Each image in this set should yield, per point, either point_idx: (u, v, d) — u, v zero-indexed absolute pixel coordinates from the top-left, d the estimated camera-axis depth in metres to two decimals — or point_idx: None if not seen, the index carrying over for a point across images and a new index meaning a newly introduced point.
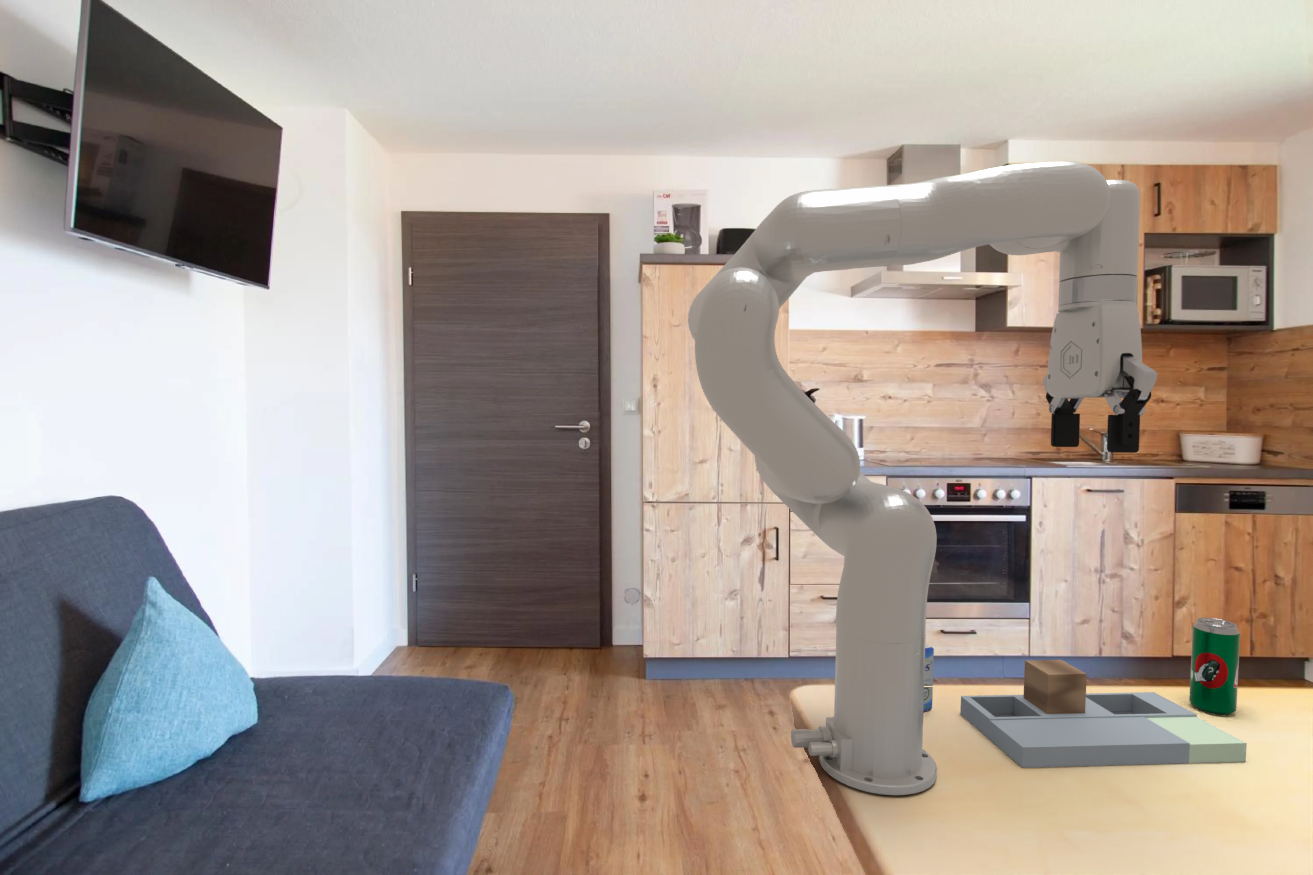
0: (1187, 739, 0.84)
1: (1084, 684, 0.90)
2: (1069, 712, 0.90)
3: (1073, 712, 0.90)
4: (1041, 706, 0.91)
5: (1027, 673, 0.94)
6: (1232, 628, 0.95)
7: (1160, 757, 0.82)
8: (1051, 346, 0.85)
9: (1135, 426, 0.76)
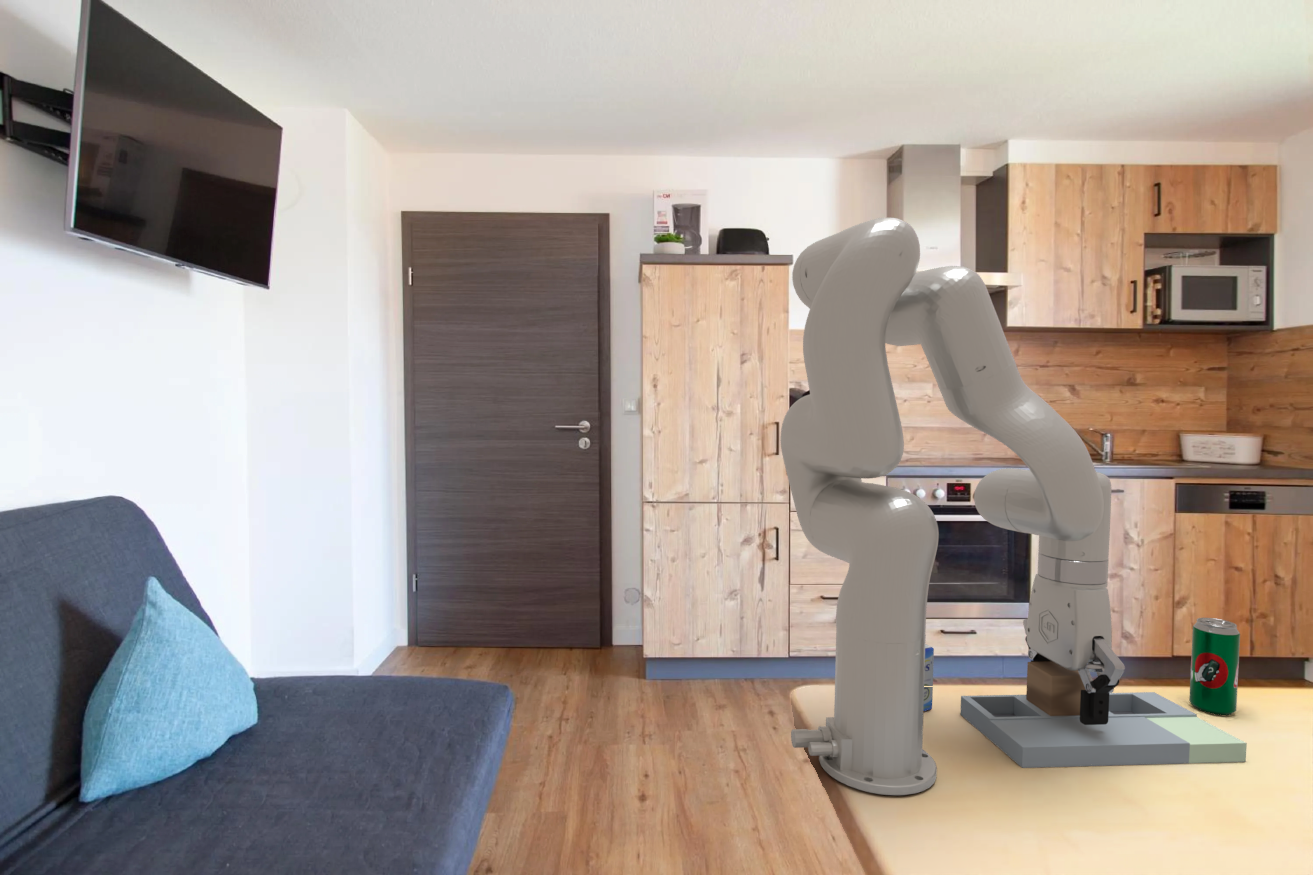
0: (1187, 739, 0.84)
1: None
2: (1072, 714, 0.89)
3: (1076, 714, 0.89)
4: (1044, 708, 0.90)
5: (1030, 674, 0.93)
6: (1232, 628, 0.95)
7: (1160, 757, 0.82)
8: (1031, 603, 0.93)
9: (1105, 703, 0.84)
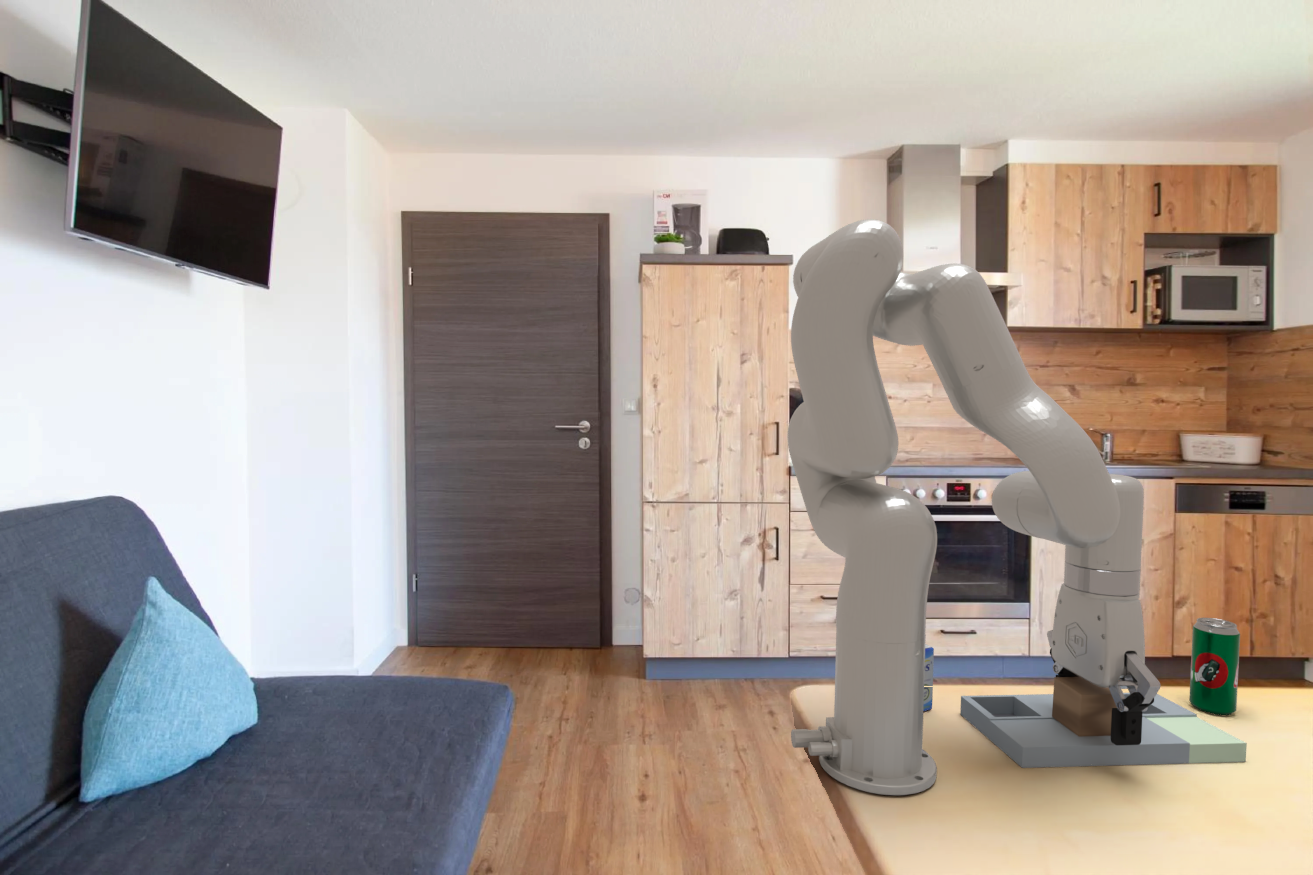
0: (1187, 739, 0.84)
1: None
2: (1102, 734, 0.84)
3: (1107, 734, 0.84)
4: (1072, 727, 0.85)
5: (1056, 691, 0.88)
6: (1232, 628, 0.95)
7: (1160, 757, 0.82)
8: (1056, 614, 0.88)
9: (1138, 722, 0.79)
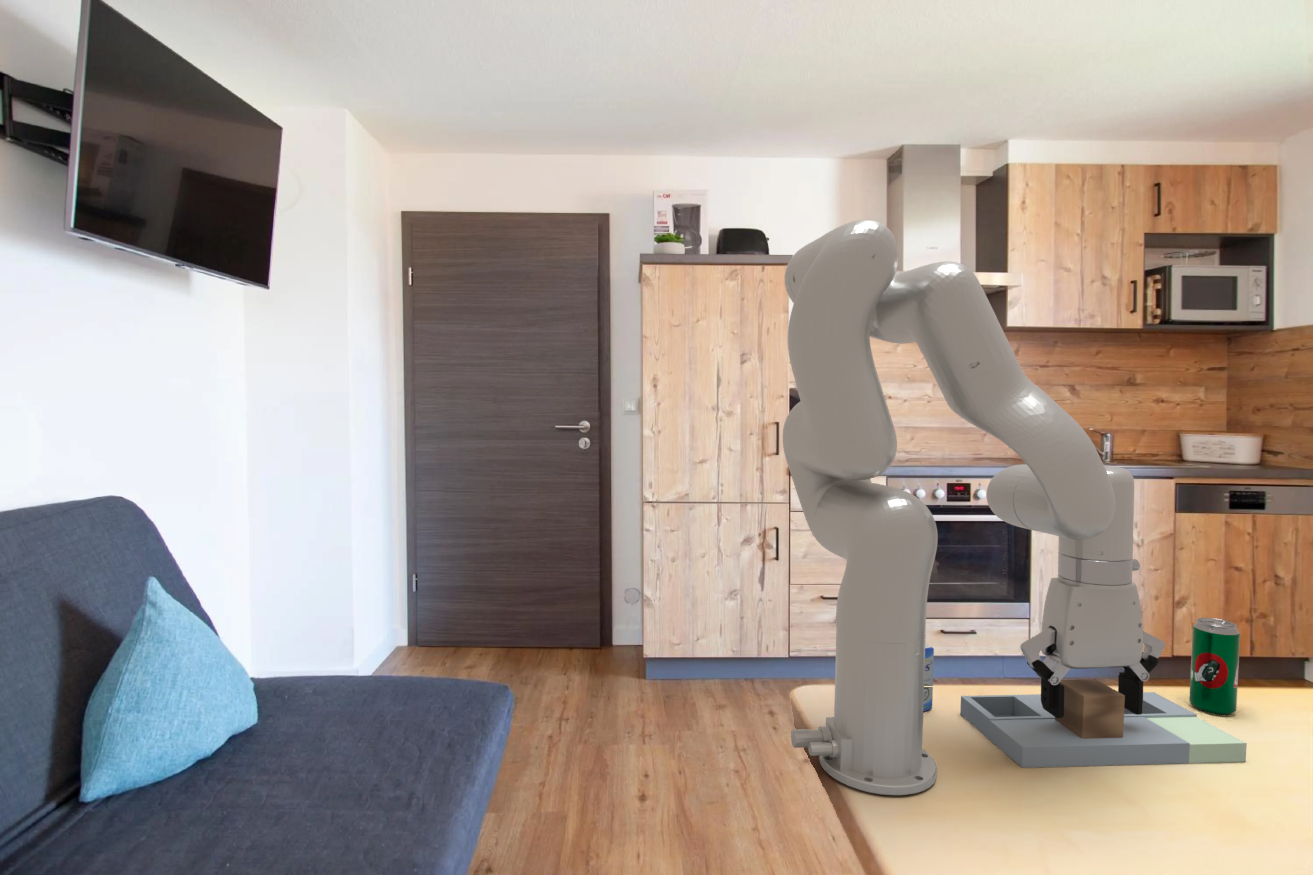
0: (1187, 739, 0.84)
1: (1122, 706, 0.84)
2: (1106, 736, 0.84)
3: (1110, 736, 0.84)
4: (1075, 730, 0.85)
5: None
6: (1232, 628, 0.95)
7: (1160, 757, 0.82)
8: None
9: (1048, 692, 0.85)
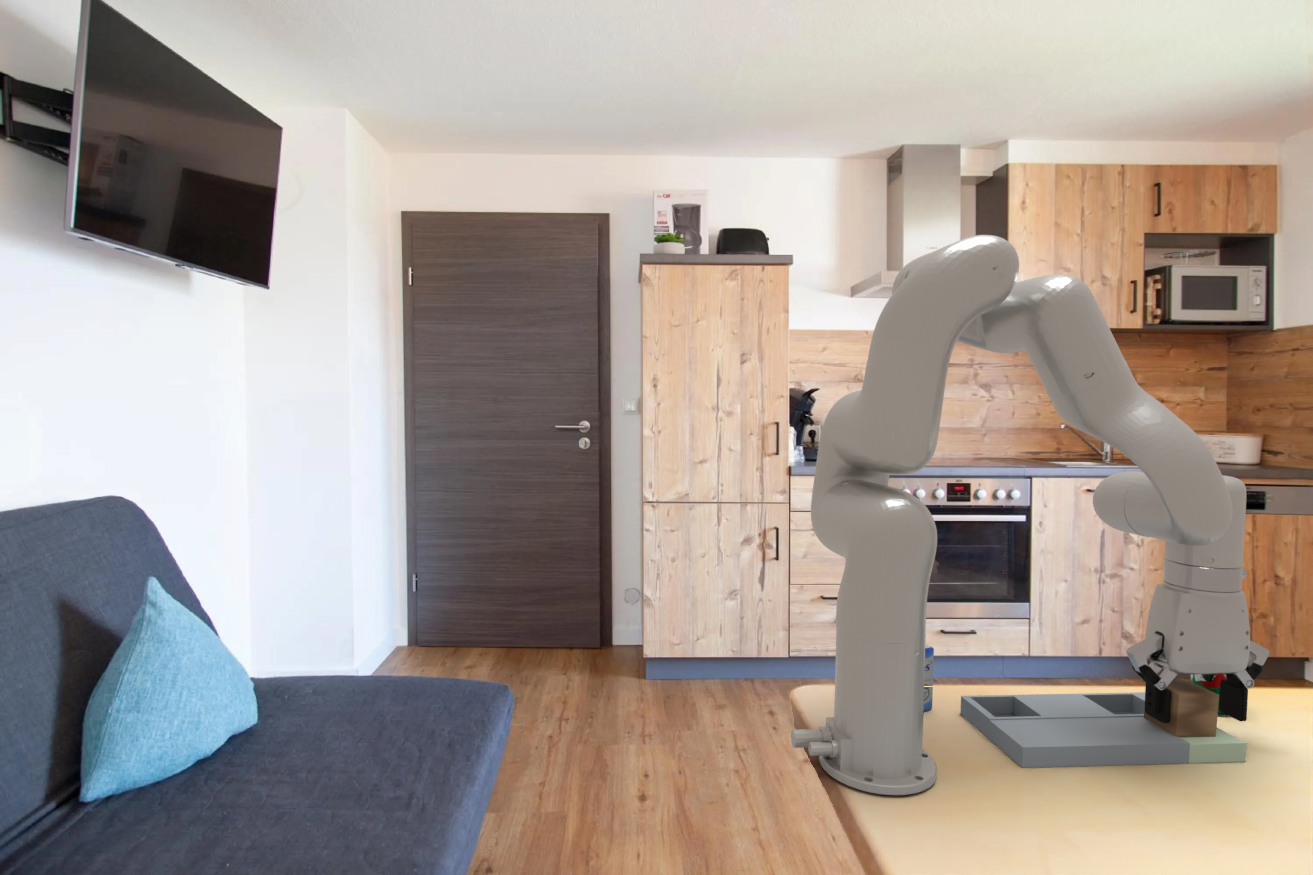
0: (1187, 739, 0.84)
1: (1216, 706, 0.84)
2: (1199, 735, 0.85)
3: (1203, 735, 0.85)
4: (1168, 727, 0.85)
5: None
6: None
7: (1160, 757, 0.82)
8: None
9: (1154, 697, 0.86)
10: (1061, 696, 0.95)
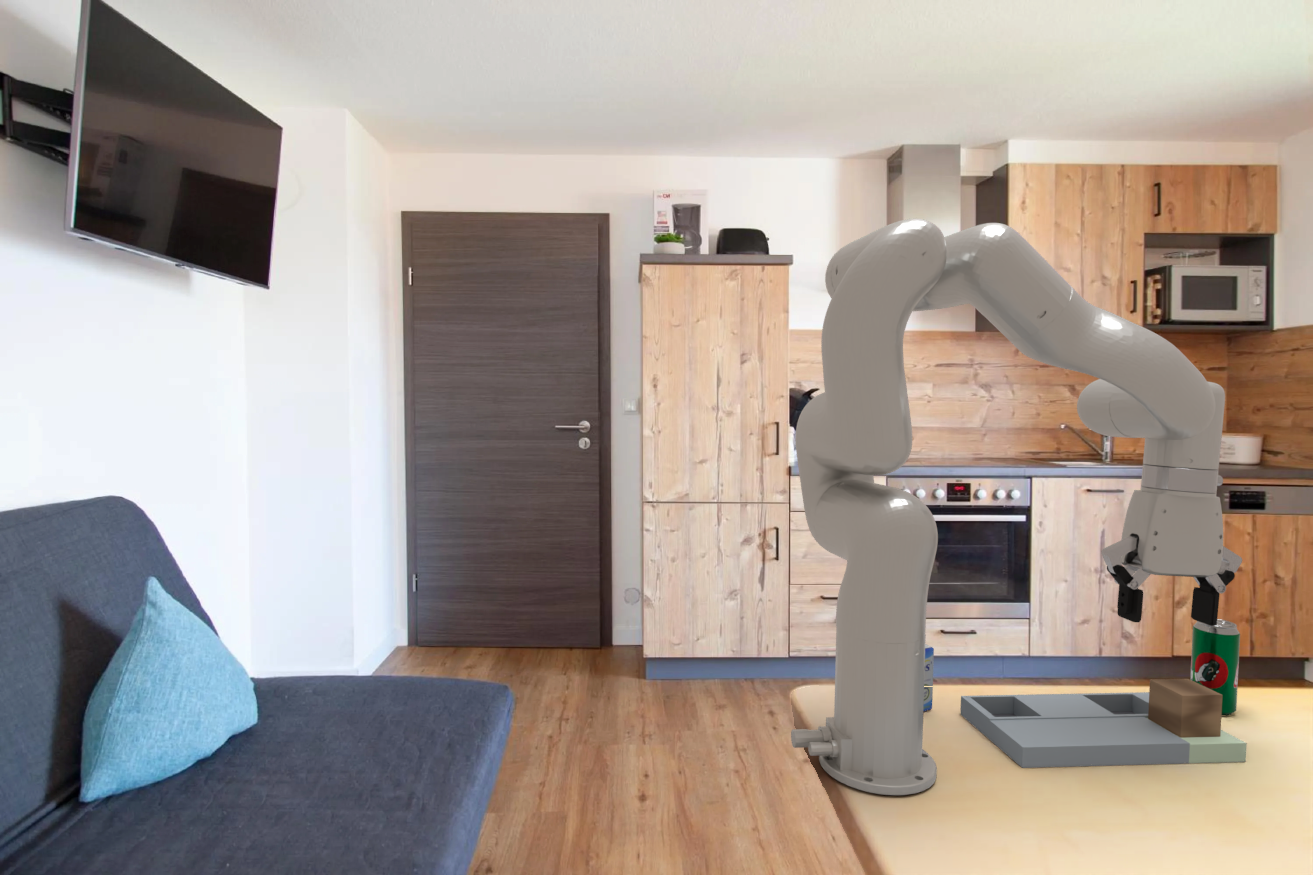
0: (1187, 739, 0.84)
1: (1220, 706, 0.84)
2: (1203, 735, 0.85)
3: (1208, 735, 0.85)
4: (1172, 729, 0.85)
5: (1153, 693, 0.89)
6: (1232, 628, 0.95)
7: (1160, 757, 0.82)
8: None
9: (1126, 597, 0.87)
10: (1061, 696, 0.95)
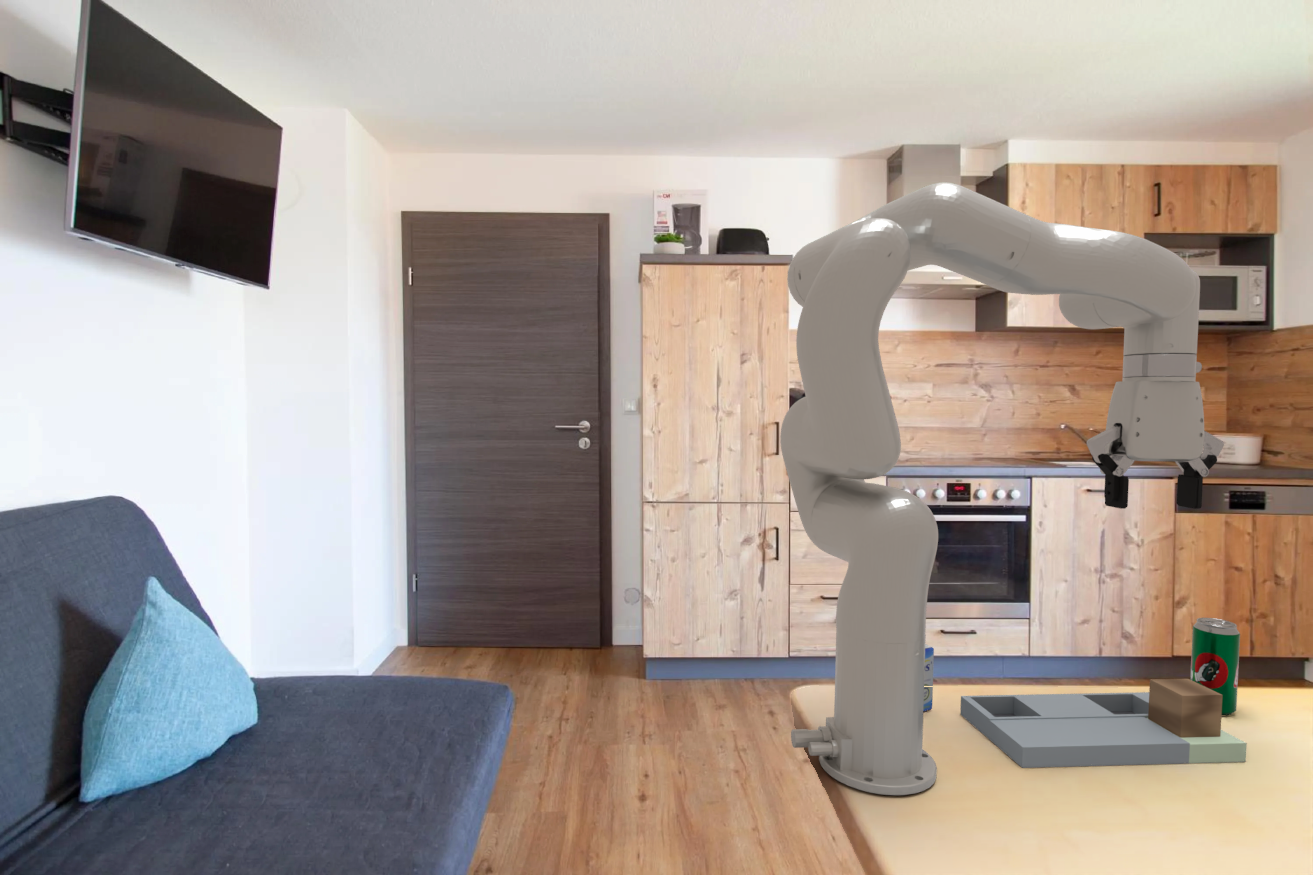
0: (1187, 739, 0.84)
1: (1220, 706, 0.84)
2: (1203, 735, 0.85)
3: (1208, 735, 0.85)
4: (1172, 729, 0.85)
5: (1153, 693, 0.89)
6: (1232, 628, 0.95)
7: (1160, 757, 0.82)
8: None
9: (1112, 485, 0.89)
10: (1061, 696, 0.95)
